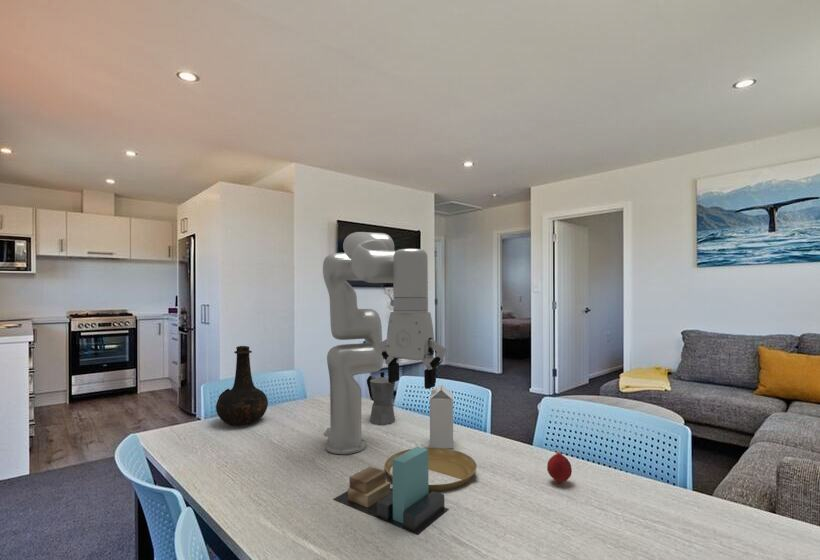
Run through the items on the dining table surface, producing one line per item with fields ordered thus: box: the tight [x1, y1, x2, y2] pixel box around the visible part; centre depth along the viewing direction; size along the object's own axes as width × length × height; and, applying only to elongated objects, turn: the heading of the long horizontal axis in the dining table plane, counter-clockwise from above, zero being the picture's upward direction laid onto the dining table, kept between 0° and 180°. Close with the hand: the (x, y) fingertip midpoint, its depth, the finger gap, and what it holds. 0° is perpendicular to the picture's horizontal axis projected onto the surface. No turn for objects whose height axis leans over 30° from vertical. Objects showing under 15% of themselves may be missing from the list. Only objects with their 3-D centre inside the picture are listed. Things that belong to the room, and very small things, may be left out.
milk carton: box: [429, 381, 454, 449], centre depth 135 cm, size 7×7×19 cm
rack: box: [332, 487, 450, 536], centre depth 96 cm, size 24×12×4 cm, turn 54°
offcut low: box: [347, 480, 391, 507], centre depth 100 cm, size 6×8×2 cm
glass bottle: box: [215, 345, 269, 427], centre depth 157 cm, size 18×18×28 cm
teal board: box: [391, 446, 430, 523], centre depth 93 cm, size 3×9×12 cm, turn 144°
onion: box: [546, 450, 573, 484], centre depth 108 cm, size 6×6×8 cm
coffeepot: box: [366, 371, 396, 426], centre depth 159 cm, size 15×9×18 cm, turn 44°
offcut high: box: [349, 466, 387, 494], centre depth 100 cm, size 5×7×2 cm
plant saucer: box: [384, 446, 478, 492], centre depth 113 cm, size 24×24×3 cm
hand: (411, 384), depth 93 cm, fingers open, 9 cm apart
